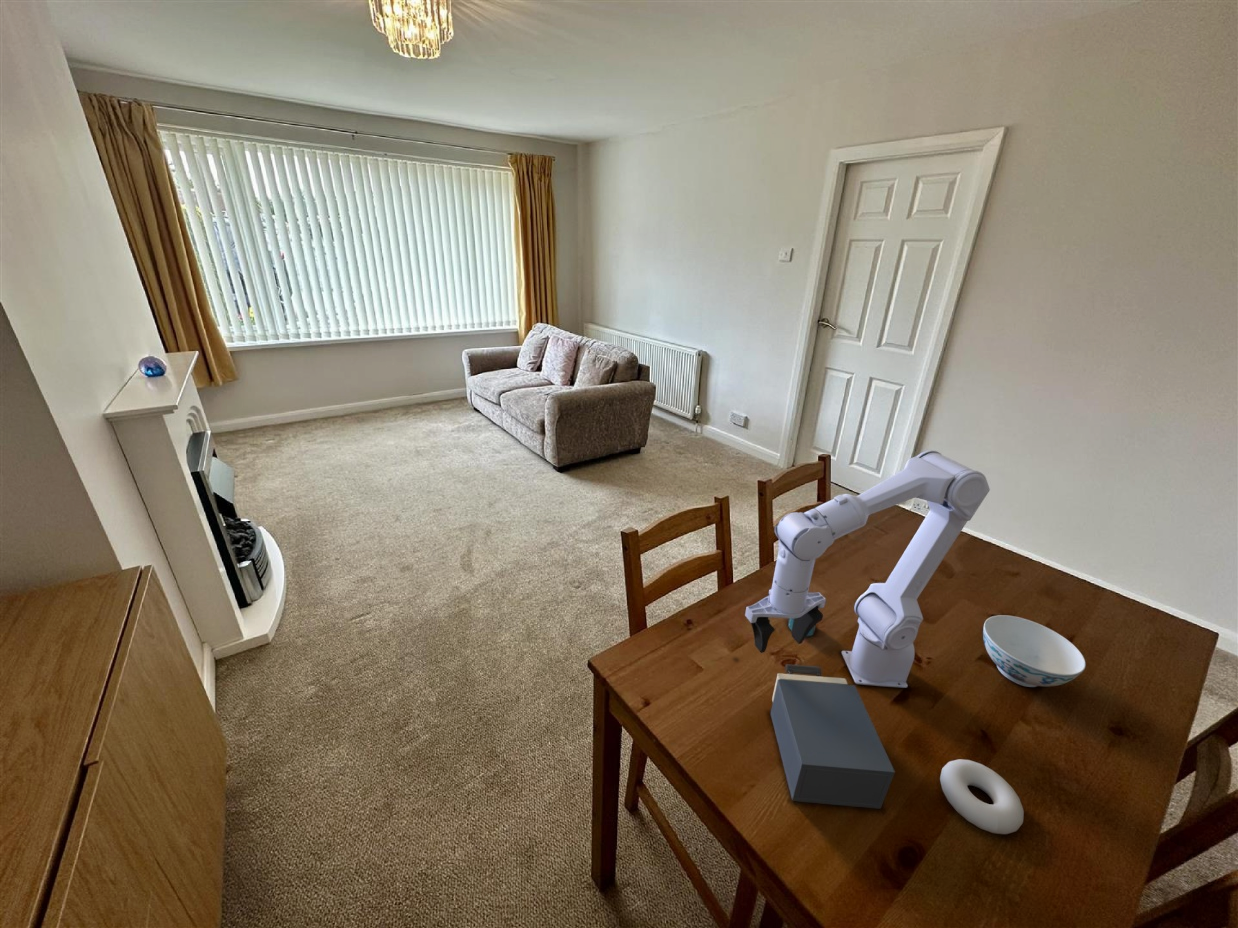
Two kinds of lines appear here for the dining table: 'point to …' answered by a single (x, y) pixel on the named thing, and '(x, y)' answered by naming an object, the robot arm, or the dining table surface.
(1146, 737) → the dining table surface
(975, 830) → the dining table surface
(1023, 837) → the dining table surface
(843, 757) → the cabinet
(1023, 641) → the chinaware
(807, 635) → the cup
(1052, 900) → the dining table surface
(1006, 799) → the donut
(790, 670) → the drawer
